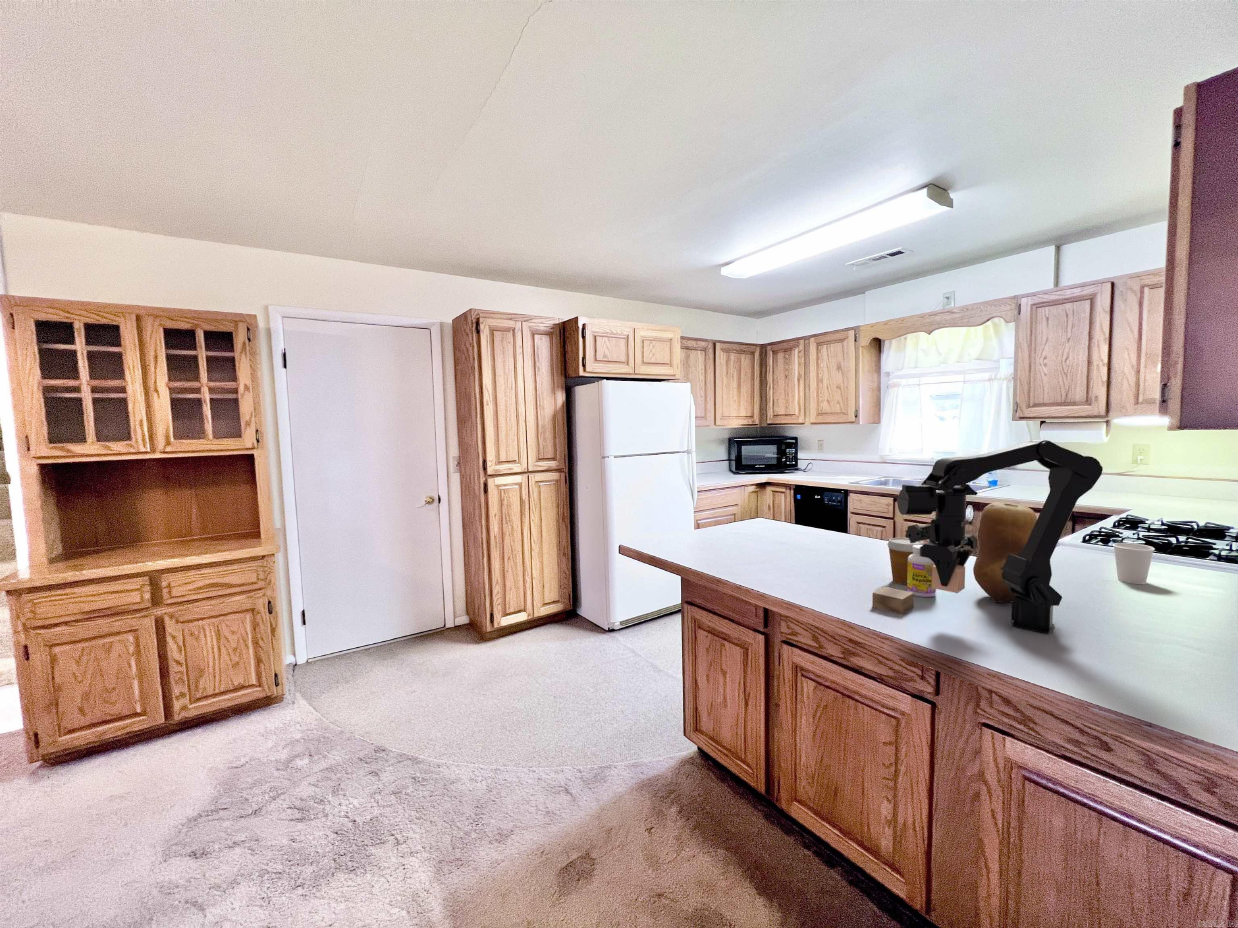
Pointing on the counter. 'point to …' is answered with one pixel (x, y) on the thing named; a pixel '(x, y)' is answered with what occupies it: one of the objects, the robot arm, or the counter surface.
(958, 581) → the cube
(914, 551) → the supplement bottle
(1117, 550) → the dixie cup
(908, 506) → the robot arm
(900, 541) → the disposable coffee cup
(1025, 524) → the butternut squash
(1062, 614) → the counter surface
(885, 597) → the brown box
